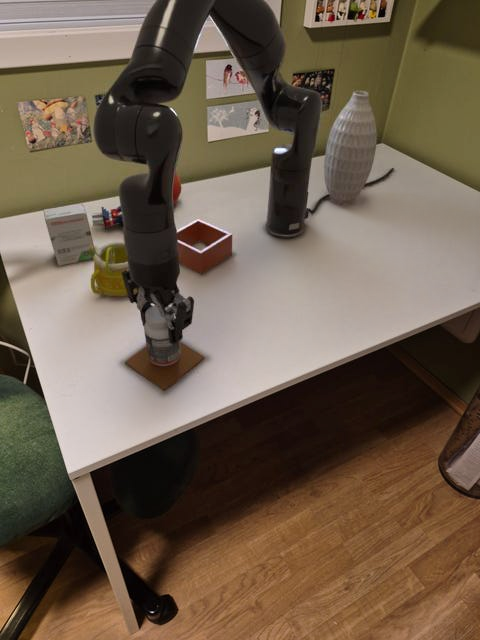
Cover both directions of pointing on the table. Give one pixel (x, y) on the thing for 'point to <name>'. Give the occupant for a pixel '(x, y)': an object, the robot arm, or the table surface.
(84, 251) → the ink box
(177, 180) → the red egg-shaped piece
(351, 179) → the vase
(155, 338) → the pill bottle
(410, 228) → the table surface
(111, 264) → the mug
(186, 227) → the planter
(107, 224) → the figurine
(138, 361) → the cork pad
